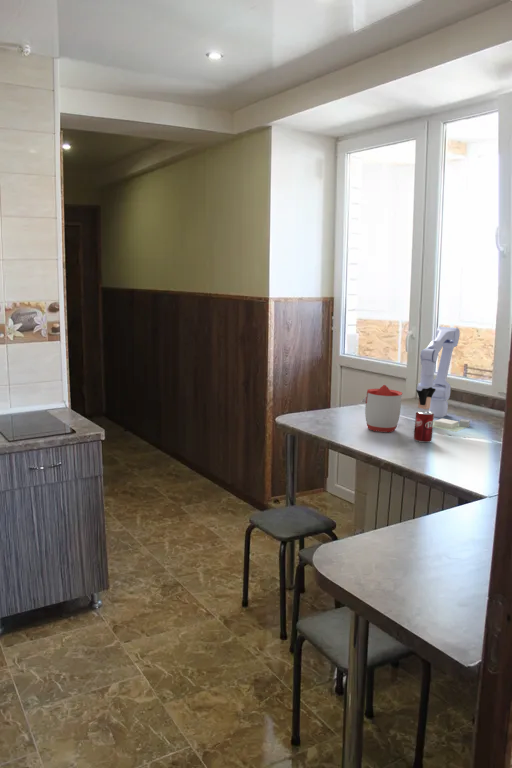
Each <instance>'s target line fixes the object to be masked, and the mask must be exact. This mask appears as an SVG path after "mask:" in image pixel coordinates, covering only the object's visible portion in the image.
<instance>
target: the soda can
mask: <svg viewBox="0 0 512 768" xmlns="http://www.w3.org/2000/svg"><path fill="white" fill-rule="evenodd" d="M434 418H435V417H434V414H433V413H432V412H429V410H417V411H415V418H414V430H413V440H414V441H415V440H416V441H415V442H418V441H419V442H418V443H423V442H428V443H431V442H430V441H432V440H433V439H432V438H433V429H434V427H433V421H435V419H434Z"/></svg>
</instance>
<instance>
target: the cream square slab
mask: <svg viewBox="0 0 512 768" xmlns="http://www.w3.org/2000/svg"><path fill="white" fill-rule="evenodd" d="M435 420H436V421H435ZM435 420H433V421H434V425H435V426H440V427H445V428H454V427H456V426H458V424H459V422H460V420H459V421H458V420H453V419H447V418H444V417H441V418H439V419H435Z"/></svg>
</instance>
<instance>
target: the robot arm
mask: <svg viewBox="0 0 512 768" xmlns="http://www.w3.org/2000/svg"><path fill="white" fill-rule="evenodd" d="M460 334H461V333H460V328H458V327H450V326H449V327H448V326H441V325H439V326H438V327H437V328H436V333H435V339H432V340H431V341H430V343H429V344H428V345H427V346H426V348H423V349H421V351H420V365H421V367H420V368H421V371H420V378H419V379H420V381H419V383H417V386H416V390H415V391H416V394H417V395H418V402H419V401H420V405H425V403H426V398H427V397H431V403H430V408H428V411H429V412H432V413H433V414H434V418H439V419H442V418H445V417H446V416H448V410H449V409H448V407H449V404H448V401H447V400H449V399H450V396H451V389H452V387H451V384H450V383H449V382H448V381H447V378H448V375H449V374H448V373H449V368H450V364H451V360H452V354H453V351H454V348H455V347H456V348H457V347H458V344H459V340H460ZM440 352H441V355H440V358H439V364H438V367H437V373H436V377H435V366H436V362H437V360H438V357H439V353H440Z"/></svg>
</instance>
